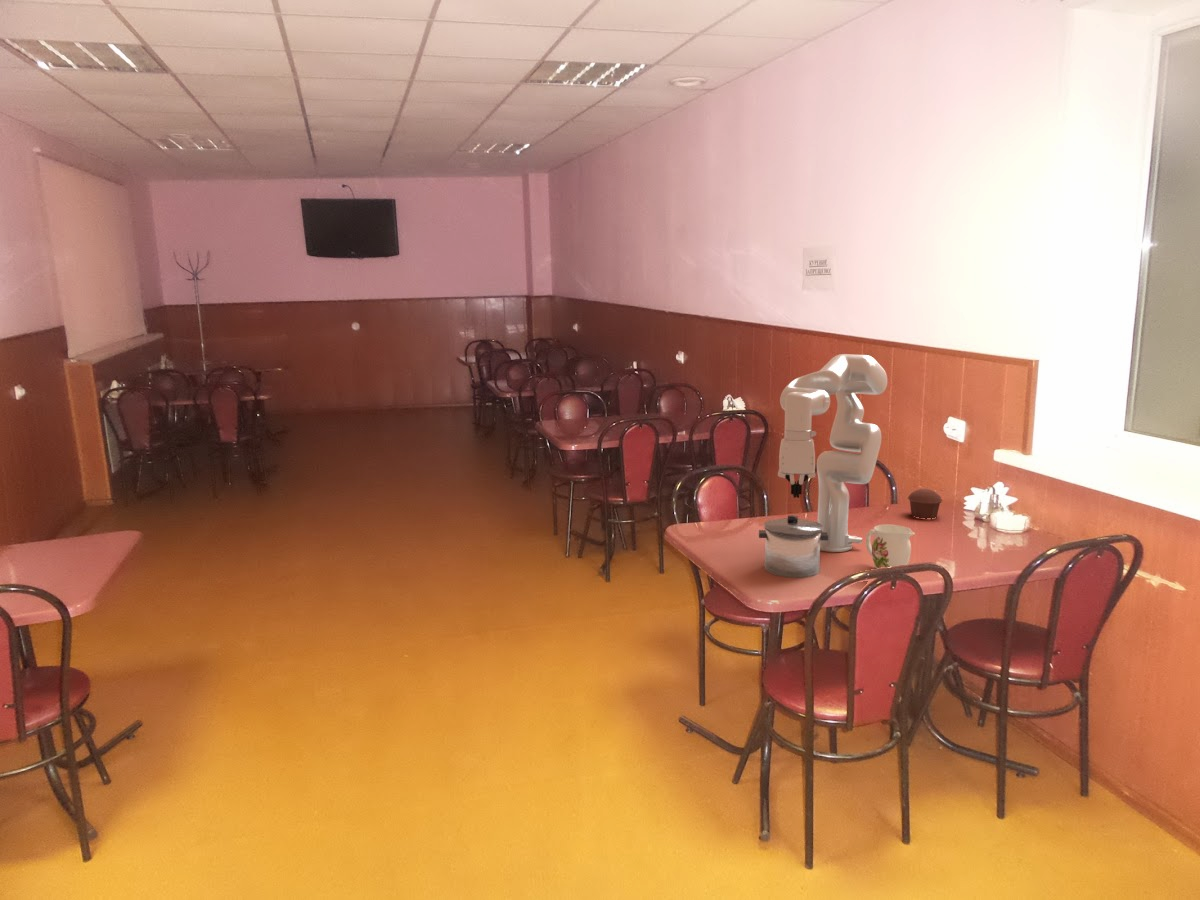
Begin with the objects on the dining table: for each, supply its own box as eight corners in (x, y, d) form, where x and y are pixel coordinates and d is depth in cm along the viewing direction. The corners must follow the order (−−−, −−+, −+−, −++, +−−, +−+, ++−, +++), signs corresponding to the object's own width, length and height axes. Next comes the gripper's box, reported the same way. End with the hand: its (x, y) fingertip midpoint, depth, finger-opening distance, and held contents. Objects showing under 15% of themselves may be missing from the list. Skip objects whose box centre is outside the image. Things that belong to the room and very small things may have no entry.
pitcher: (878, 559, 267) (881, 516, 264) (924, 576, 251) (927, 531, 248) (851, 565, 262) (854, 521, 259) (896, 583, 246) (899, 536, 243)
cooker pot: (823, 560, 266) (824, 523, 264) (828, 579, 250) (830, 539, 247) (757, 557, 269) (758, 520, 267) (758, 576, 253) (759, 536, 250)
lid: (763, 520, 266) (763, 512, 266) (819, 523, 264) (820, 514, 263) (765, 534, 249) (765, 524, 249) (825, 536, 246) (825, 526, 246)
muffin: (941, 514, 318) (942, 488, 316) (941, 522, 308) (943, 495, 306) (907, 511, 322) (908, 485, 320) (906, 519, 312) (907, 492, 310)
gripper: (823, 432, 251) (821, 493, 254) (770, 432, 253) (769, 492, 257) (825, 438, 243) (823, 500, 247) (771, 437, 246) (770, 499, 250)
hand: (796, 496), depth 252 cm, fingers closed
